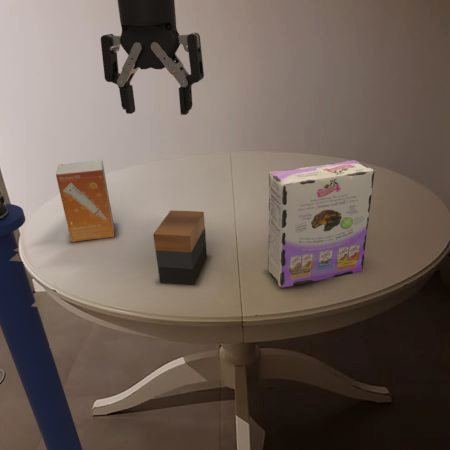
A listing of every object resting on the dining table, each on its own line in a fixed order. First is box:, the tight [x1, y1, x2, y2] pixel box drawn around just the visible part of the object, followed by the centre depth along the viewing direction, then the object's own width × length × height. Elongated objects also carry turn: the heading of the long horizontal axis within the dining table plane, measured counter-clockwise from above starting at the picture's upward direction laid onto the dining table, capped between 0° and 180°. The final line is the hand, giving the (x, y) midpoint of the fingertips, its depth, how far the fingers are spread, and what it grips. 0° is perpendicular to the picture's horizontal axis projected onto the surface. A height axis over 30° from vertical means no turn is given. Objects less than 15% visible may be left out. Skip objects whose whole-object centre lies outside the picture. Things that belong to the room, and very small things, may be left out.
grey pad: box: [155, 227, 207, 269], centre depth 74 cm, size 9×6×3 cm, turn 169°
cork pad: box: [152, 210, 206, 253], centre depth 73 cm, size 9×6×3 cm, turn 169°
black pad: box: [157, 243, 208, 286], centre depth 76 cm, size 9×6×3 cm, turn 169°
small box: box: [55, 159, 115, 243], centre depth 86 cm, size 8×6×13 cm
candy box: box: [267, 159, 376, 289], centre depth 70 cm, size 14×6×16 cm, turn 106°
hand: (157, 113), depth 70 cm, fingers open, 8 cm apart
